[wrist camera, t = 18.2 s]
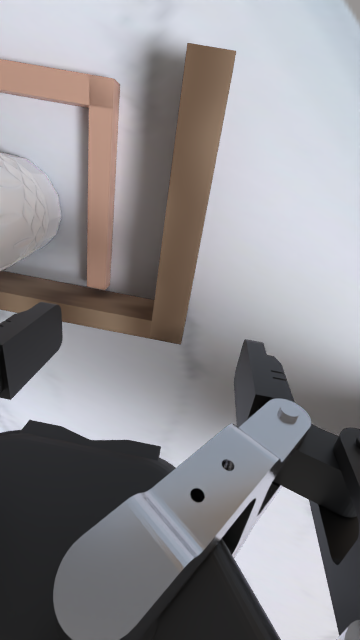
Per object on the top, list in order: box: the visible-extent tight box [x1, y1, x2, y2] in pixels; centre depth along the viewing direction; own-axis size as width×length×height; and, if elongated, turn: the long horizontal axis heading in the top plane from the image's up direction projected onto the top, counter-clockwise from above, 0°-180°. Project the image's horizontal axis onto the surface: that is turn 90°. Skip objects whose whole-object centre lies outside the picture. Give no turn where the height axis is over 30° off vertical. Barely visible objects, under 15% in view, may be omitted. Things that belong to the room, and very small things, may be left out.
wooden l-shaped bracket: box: [0, 43, 236, 344], centre depth 20 cm, size 19×17×4 cm
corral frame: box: [0, 59, 120, 290], centre depth 21 cm, size 15×14×1 cm
